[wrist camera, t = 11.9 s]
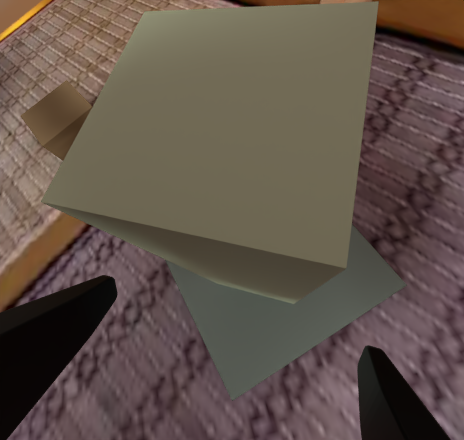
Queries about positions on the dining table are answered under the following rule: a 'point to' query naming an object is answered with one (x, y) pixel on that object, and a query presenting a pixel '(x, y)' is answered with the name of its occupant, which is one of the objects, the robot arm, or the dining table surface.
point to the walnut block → (58, 118)
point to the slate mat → (281, 315)
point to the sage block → (230, 143)
